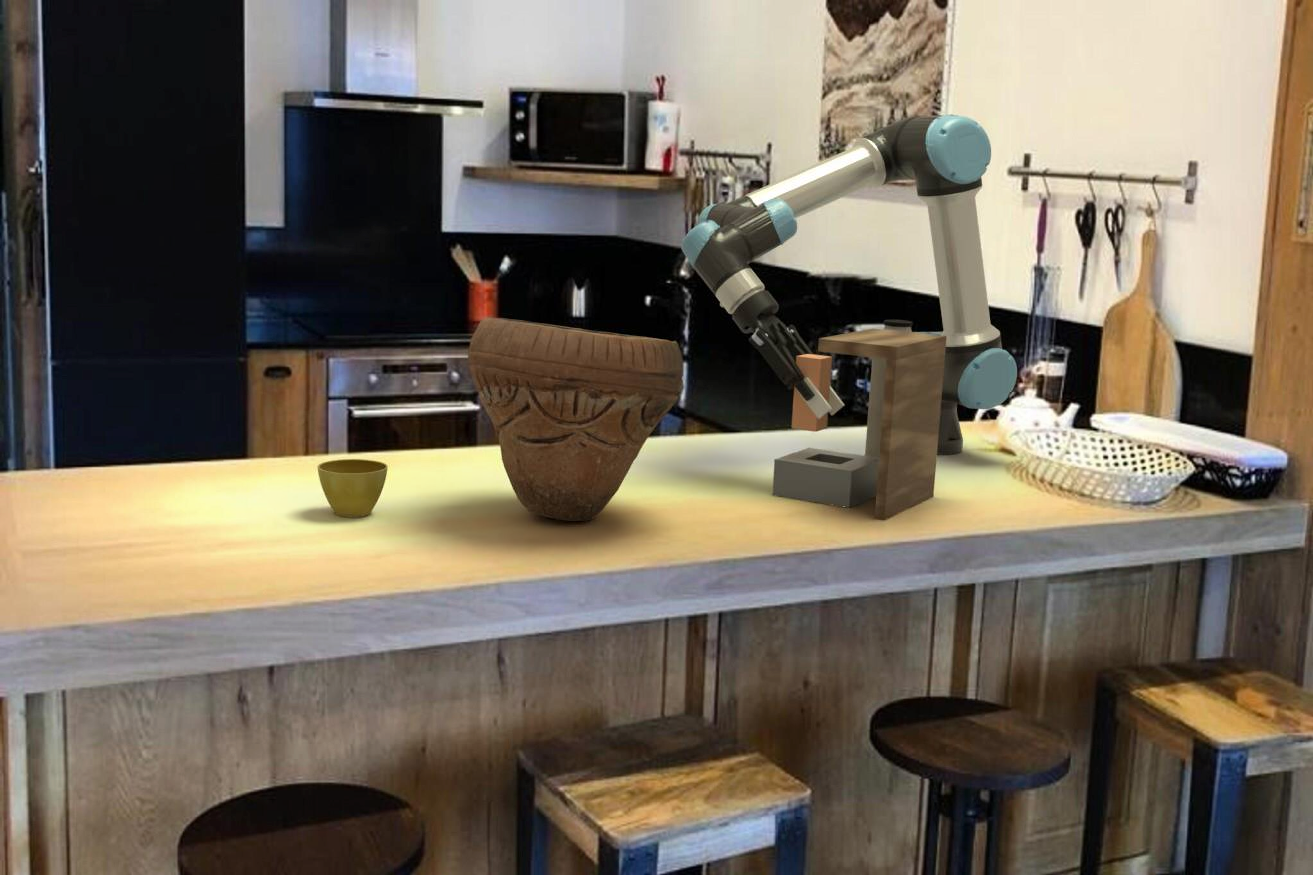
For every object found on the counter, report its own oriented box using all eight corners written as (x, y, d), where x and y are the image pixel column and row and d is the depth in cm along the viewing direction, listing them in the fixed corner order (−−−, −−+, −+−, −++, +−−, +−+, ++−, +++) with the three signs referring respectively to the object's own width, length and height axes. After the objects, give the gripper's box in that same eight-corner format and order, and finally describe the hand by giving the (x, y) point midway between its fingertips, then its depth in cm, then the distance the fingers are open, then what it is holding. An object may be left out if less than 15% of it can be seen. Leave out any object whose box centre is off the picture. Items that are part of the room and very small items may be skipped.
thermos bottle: (862, 472, 265) (873, 316, 259) (907, 475, 264) (919, 319, 259) (864, 482, 257) (876, 321, 252) (910, 485, 256) (923, 323, 251)
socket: (772, 495, 243) (774, 459, 242) (807, 481, 255) (809, 447, 254) (848, 507, 236) (851, 471, 235) (881, 493, 248) (883, 458, 247)
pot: (721, 521, 224) (732, 323, 218) (569, 554, 201) (577, 334, 195) (573, 483, 245) (580, 302, 240) (420, 509, 222) (424, 310, 217)
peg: (791, 428, 244) (796, 356, 242) (802, 424, 248) (807, 353, 246) (815, 431, 242) (820, 359, 240) (826, 428, 246) (832, 356, 244)
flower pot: (327, 523, 211) (327, 474, 210) (309, 508, 220) (309, 460, 219) (396, 518, 216) (396, 470, 214) (375, 503, 225) (376, 457, 223)
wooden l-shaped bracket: (807, 507, 235) (818, 338, 230) (861, 484, 254) (872, 328, 249) (884, 520, 229) (897, 346, 224) (933, 496, 248) (946, 336, 243)
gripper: (756, 313, 257) (837, 419, 252) (708, 320, 242) (793, 432, 237) (786, 285, 253) (868, 392, 248) (739, 290, 238) (825, 404, 233)
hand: (831, 411), depth 243 cm, fingers closed on peg, 4 cm apart
